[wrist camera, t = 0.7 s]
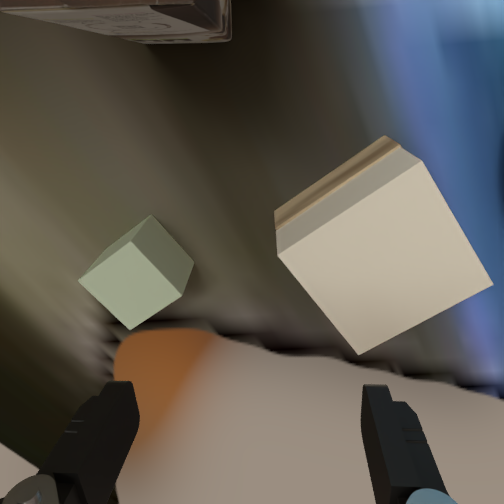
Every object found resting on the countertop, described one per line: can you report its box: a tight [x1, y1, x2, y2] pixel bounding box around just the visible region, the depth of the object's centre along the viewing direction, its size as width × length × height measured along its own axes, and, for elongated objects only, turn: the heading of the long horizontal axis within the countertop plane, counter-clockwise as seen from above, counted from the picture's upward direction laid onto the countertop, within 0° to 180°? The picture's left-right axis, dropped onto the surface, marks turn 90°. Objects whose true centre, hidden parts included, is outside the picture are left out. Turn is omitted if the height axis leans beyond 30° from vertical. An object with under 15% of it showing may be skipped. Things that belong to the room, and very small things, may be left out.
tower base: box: [274, 135, 402, 230], centre depth 30 cm, size 10×10×4 cm
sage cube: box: [78, 214, 195, 330], centre depth 31 cm, size 6×6×6 cm
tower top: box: [276, 147, 493, 355], centre depth 27 cm, size 10×10×4 cm
